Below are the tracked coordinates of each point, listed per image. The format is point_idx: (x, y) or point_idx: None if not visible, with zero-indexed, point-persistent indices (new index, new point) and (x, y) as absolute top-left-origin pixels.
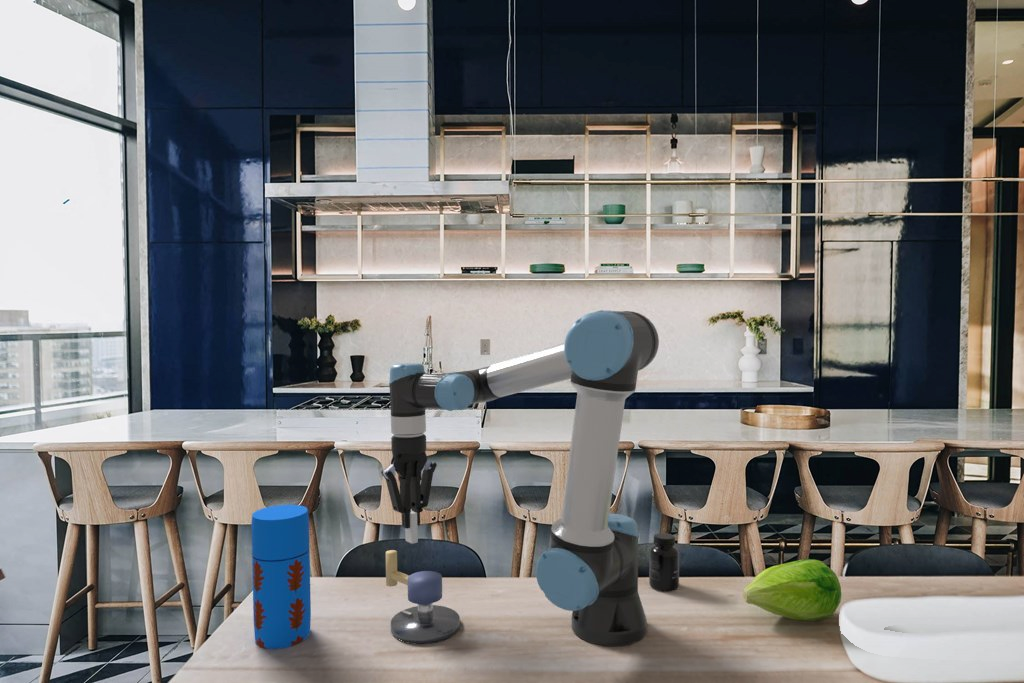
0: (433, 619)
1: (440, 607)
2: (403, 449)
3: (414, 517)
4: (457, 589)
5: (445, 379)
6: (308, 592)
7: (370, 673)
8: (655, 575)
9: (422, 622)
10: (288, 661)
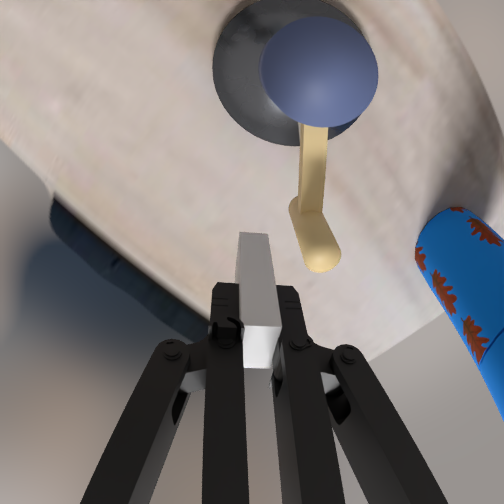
0: None
1: (226, 92)
2: None
3: (258, 308)
4: (117, 171)
5: None
6: (475, 256)
7: (459, 41)
8: None
9: None
10: (489, 174)
